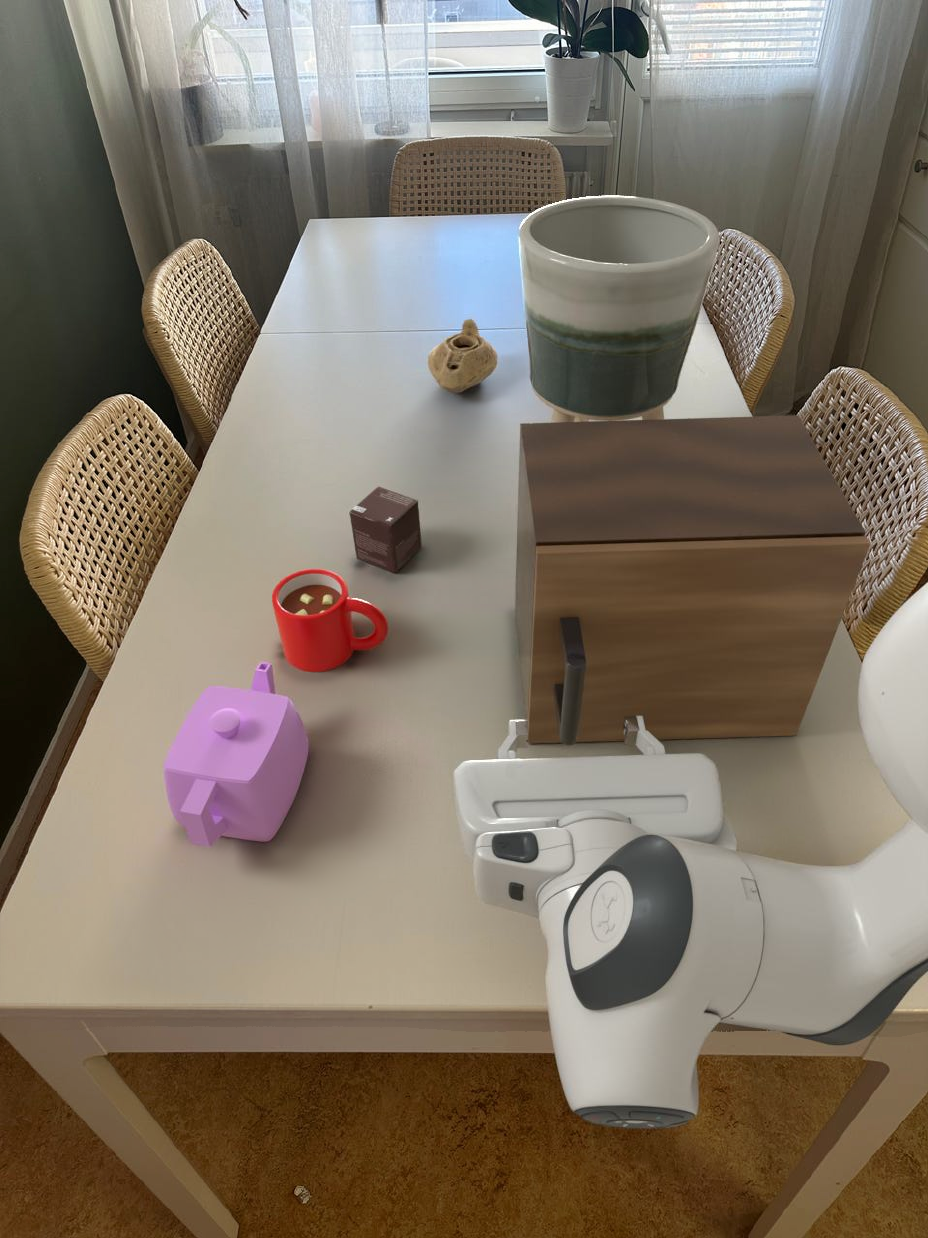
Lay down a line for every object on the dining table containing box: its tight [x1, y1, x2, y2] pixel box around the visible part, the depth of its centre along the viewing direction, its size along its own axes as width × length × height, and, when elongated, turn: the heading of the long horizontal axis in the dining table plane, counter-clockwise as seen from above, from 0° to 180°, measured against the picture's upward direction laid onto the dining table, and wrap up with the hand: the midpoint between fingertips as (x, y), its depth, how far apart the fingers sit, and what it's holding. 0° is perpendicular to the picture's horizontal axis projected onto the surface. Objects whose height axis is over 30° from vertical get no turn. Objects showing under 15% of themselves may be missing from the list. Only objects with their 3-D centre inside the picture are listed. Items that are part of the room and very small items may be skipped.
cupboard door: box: [527, 535, 871, 746], centre depth 75 cm, size 7×26×24 cm, turn 91°
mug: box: [271, 568, 389, 673], centre depth 93 cm, size 8×12×8 cm, turn 83°
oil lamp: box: [427, 318, 498, 394], centre depth 135 cm, size 11×15×8 cm
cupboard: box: [514, 414, 867, 727], centre depth 84 cm, size 18×26×24 cm
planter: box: [517, 195, 721, 423], centre depth 106 cm, size 22×22×33 cm
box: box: [349, 485, 423, 574], centre depth 104 cm, size 6×6×7 cm
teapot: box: [163, 661, 310, 848], centre depth 79 cm, size 18×10×10 cm, turn 169°
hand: (574, 722), depth 71 cm, fingers open, 8 cm apart
